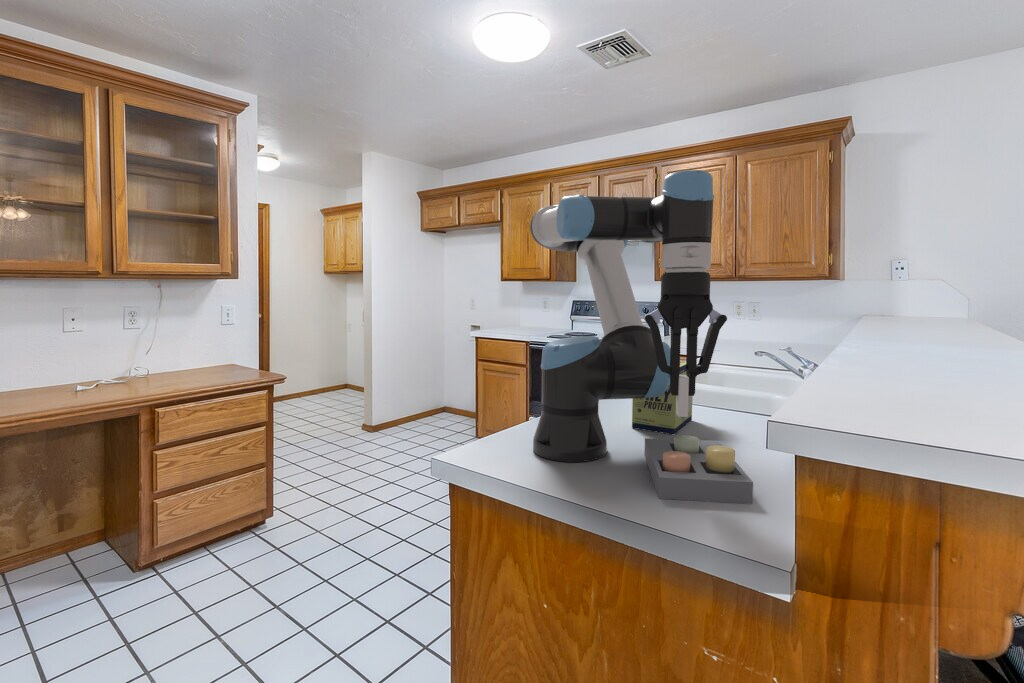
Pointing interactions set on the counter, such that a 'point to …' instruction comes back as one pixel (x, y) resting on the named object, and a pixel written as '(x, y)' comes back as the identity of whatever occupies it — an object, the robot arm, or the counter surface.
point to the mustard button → (720, 458)
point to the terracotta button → (676, 461)
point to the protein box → (660, 411)
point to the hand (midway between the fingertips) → (681, 414)
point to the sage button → (686, 444)
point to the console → (696, 476)
